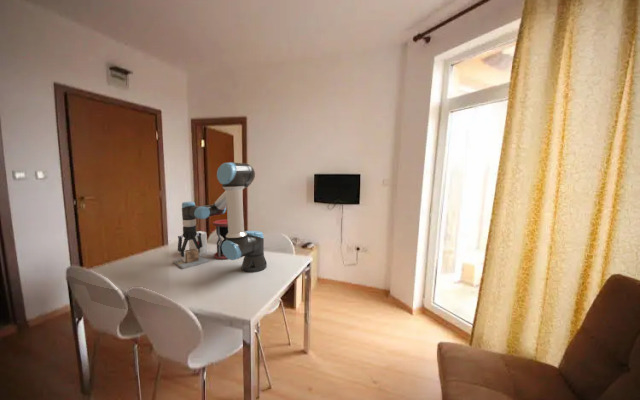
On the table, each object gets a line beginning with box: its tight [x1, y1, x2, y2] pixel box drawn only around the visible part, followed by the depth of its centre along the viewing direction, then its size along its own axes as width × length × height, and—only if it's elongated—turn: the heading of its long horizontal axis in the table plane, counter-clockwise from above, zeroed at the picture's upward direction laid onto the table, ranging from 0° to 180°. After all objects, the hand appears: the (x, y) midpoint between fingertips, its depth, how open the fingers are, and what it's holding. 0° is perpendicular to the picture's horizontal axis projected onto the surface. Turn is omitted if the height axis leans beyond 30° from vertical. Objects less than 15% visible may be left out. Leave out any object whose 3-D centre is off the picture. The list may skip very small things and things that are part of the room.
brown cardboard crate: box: [184, 249, 200, 263], centre depth 159 cm, size 7×7×6 cm
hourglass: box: [212, 219, 229, 260], centre depth 171 cm, size 16×16×25 cm
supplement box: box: [188, 230, 208, 255], centre depth 178 cm, size 9×9×15 cm
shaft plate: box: [173, 254, 210, 270], centre depth 159 cm, size 16×16×5 cm
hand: (190, 259), depth 159 cm, fingers closed on brown cardboard crate, 7 cm apart
